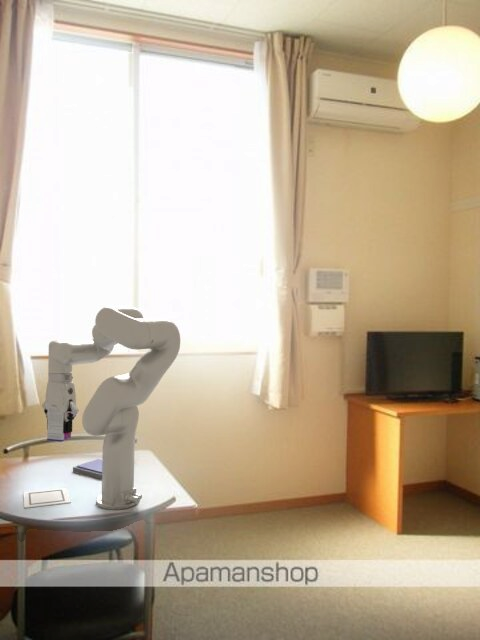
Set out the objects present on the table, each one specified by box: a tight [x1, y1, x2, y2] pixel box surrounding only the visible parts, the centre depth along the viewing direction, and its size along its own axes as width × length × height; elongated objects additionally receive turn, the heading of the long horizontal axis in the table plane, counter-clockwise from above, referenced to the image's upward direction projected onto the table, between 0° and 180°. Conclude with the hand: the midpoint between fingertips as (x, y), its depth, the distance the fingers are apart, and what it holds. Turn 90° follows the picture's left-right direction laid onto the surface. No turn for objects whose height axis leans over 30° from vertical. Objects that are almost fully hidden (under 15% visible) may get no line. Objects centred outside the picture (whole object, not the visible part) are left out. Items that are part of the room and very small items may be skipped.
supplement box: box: [46, 405, 72, 443], centre depth 179 cm, size 6×6×12 cm
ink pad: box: [72, 458, 102, 480], centre depth 193 cm, size 14×12×2 cm
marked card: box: [23, 487, 71, 509], centre depth 166 cm, size 13×13×1 cm
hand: (59, 430), depth 179 cm, fingers closed on supplement box, 7 cm apart
